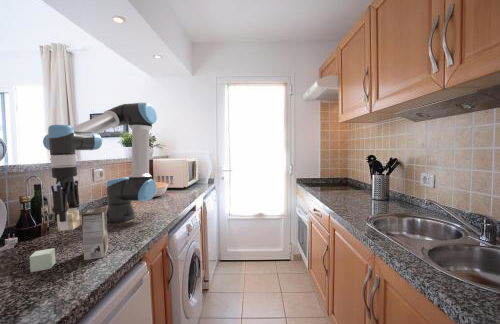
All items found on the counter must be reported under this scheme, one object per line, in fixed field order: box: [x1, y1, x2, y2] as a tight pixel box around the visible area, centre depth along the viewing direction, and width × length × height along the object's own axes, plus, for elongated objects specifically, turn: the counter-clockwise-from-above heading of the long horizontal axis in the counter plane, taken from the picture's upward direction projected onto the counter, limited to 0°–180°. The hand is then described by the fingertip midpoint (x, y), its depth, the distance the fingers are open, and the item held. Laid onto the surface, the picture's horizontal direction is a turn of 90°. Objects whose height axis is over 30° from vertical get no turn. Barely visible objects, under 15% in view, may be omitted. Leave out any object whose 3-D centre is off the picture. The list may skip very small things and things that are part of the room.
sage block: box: [29, 247, 56, 273], centre depth 78 cm, size 5×5×5 cm
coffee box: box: [81, 207, 109, 261], centre depth 87 cm, size 9×6×16 cm
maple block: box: [56, 209, 81, 232], centre depth 91 cm, size 5×5×6 cm
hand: (69, 226), depth 91 cm, fingers closed on maple block, 5 cm apart
